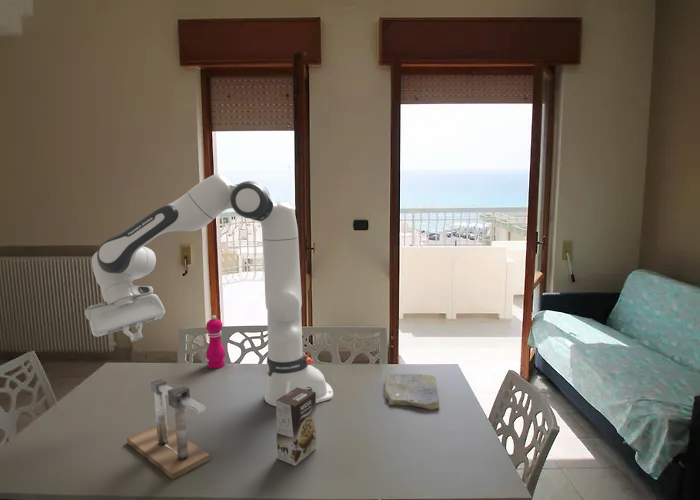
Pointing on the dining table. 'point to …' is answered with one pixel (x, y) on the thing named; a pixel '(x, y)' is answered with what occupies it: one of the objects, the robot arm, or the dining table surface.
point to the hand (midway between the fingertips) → (137, 339)
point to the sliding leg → (160, 391)
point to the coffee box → (296, 425)
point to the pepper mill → (215, 344)
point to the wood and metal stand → (171, 442)
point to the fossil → (411, 390)
